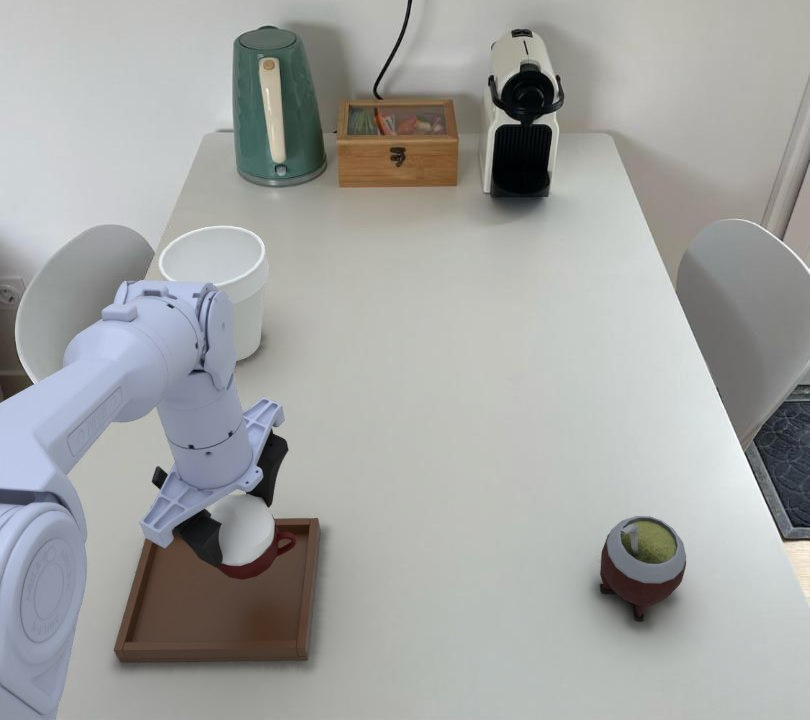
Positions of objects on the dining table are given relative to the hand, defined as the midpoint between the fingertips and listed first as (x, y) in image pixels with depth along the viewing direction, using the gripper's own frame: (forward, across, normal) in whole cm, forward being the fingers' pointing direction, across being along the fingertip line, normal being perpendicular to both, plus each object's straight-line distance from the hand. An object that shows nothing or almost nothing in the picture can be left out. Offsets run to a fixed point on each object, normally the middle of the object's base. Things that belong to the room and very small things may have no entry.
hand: (236, 530), depth 68 cm
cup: (+10, +27, +25) cm, 38 cm away
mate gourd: (+11, +17, -30) cm, 36 cm away
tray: (+10, -1, +3) cm, 11 cm away
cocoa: (+4, 0, 0) cm, 4 cm away
